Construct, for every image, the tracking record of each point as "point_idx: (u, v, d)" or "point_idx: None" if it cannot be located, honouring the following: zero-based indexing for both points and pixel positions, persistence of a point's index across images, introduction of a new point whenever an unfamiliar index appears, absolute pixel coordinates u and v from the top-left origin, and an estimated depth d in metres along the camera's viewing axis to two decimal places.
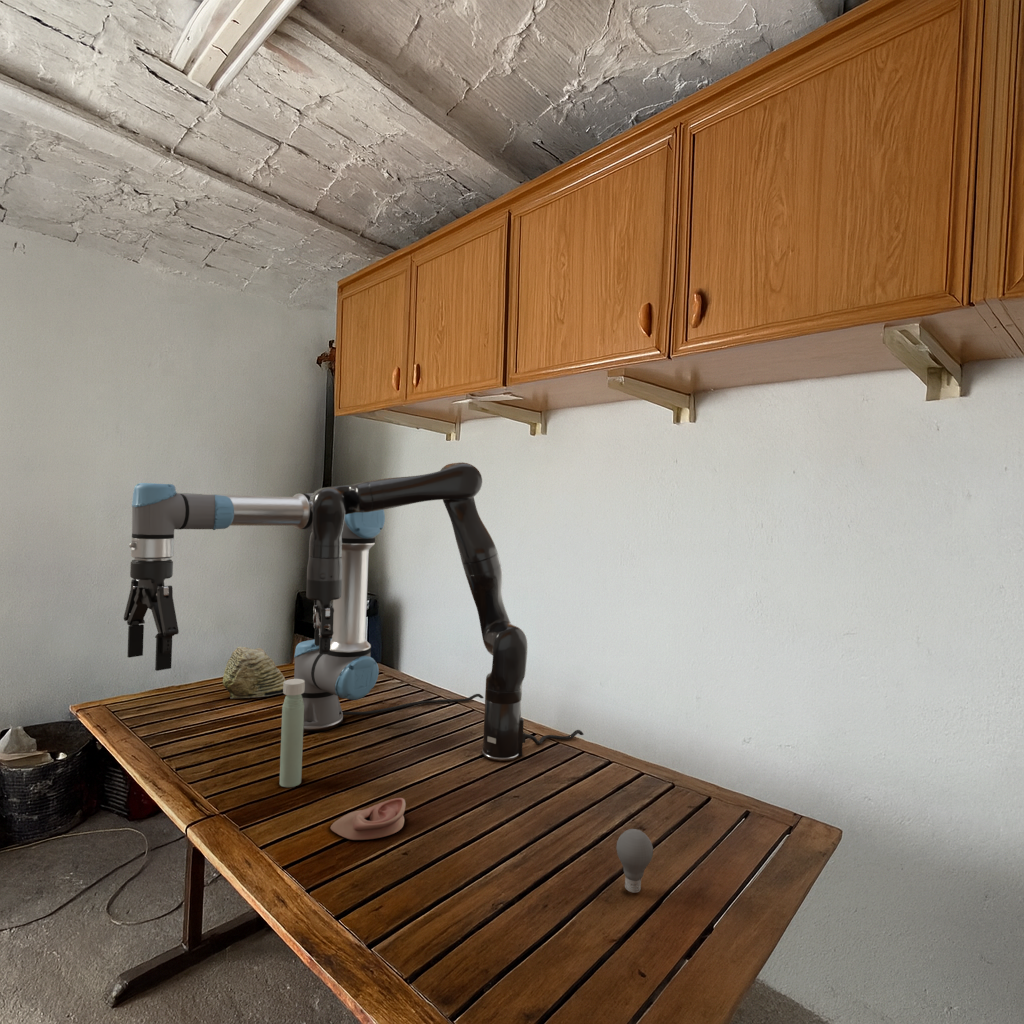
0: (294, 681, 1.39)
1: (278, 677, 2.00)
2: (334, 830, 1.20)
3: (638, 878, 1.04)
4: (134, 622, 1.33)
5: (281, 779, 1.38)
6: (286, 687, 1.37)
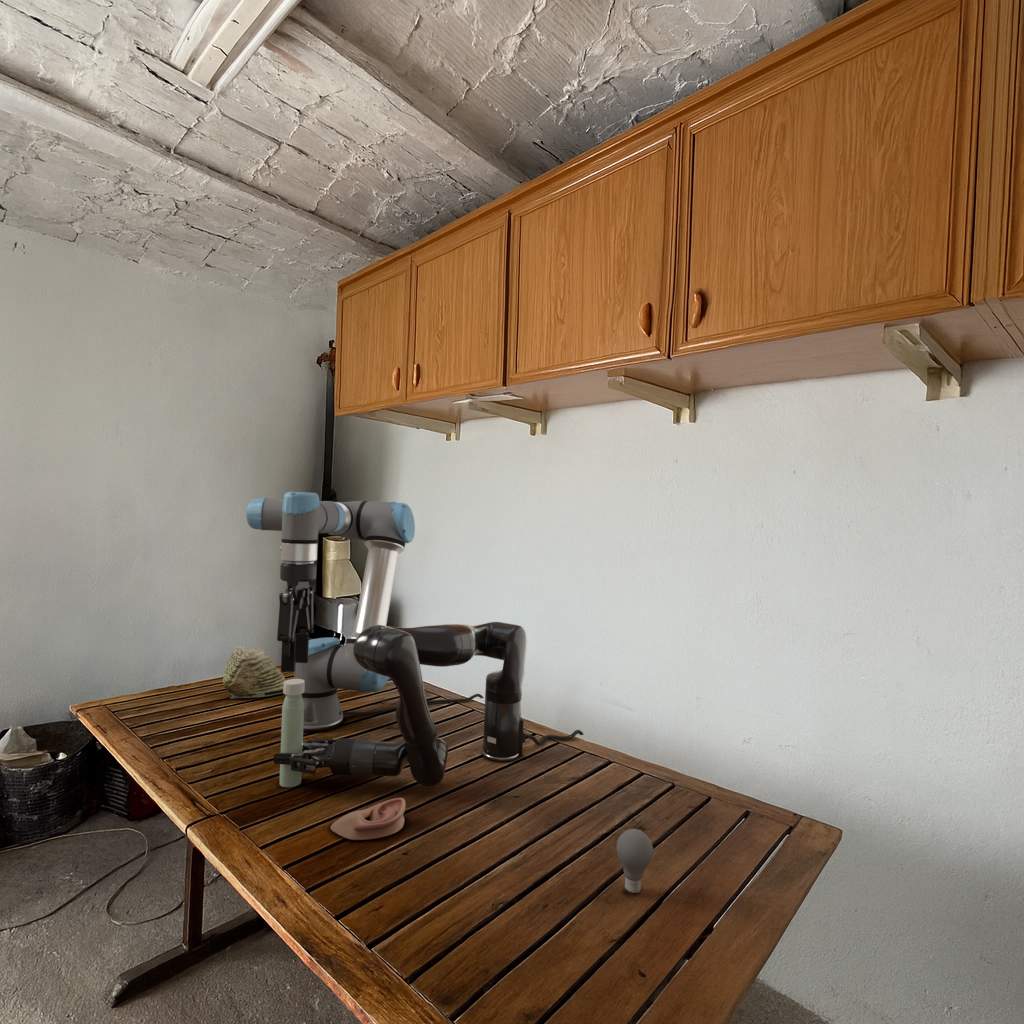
0: (294, 681, 1.39)
1: (278, 677, 2.00)
2: (334, 830, 1.20)
3: (638, 878, 1.04)
4: (302, 629, 1.43)
5: (281, 779, 1.38)
6: (286, 687, 1.37)
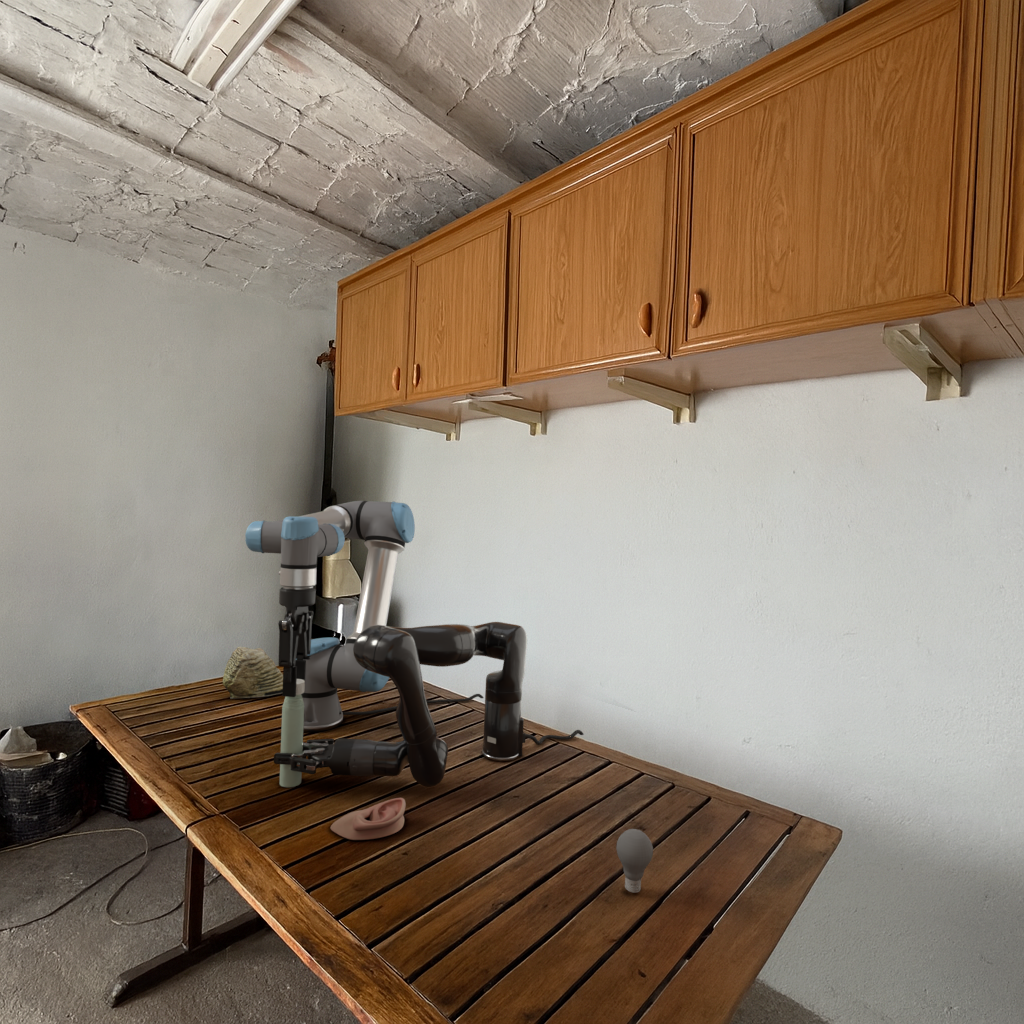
0: None
1: (278, 677, 2.00)
2: (334, 830, 1.20)
3: (638, 878, 1.04)
4: (299, 655, 1.42)
5: (281, 779, 1.38)
6: None
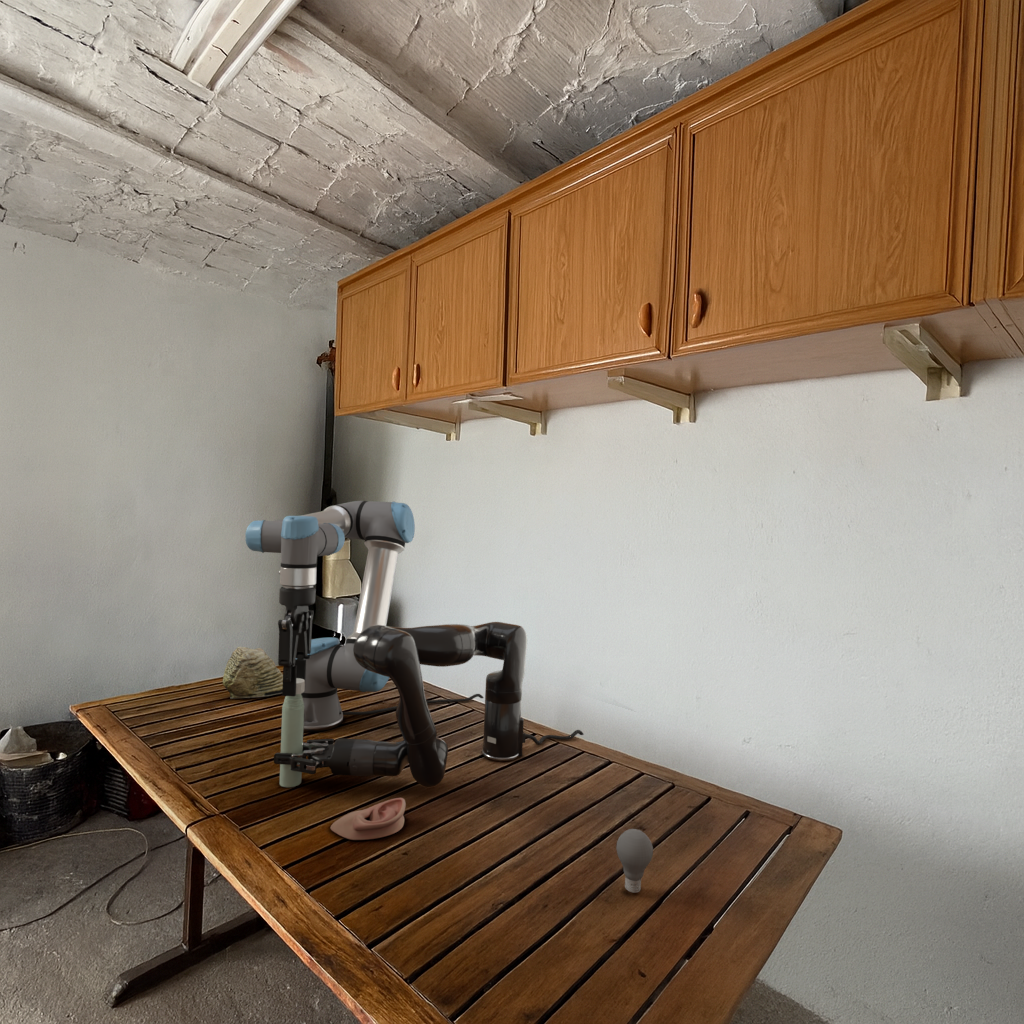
0: None
1: (278, 677, 2.00)
2: (334, 830, 1.20)
3: (638, 878, 1.04)
4: (299, 655, 1.42)
5: (281, 779, 1.38)
6: (304, 684, 1.40)
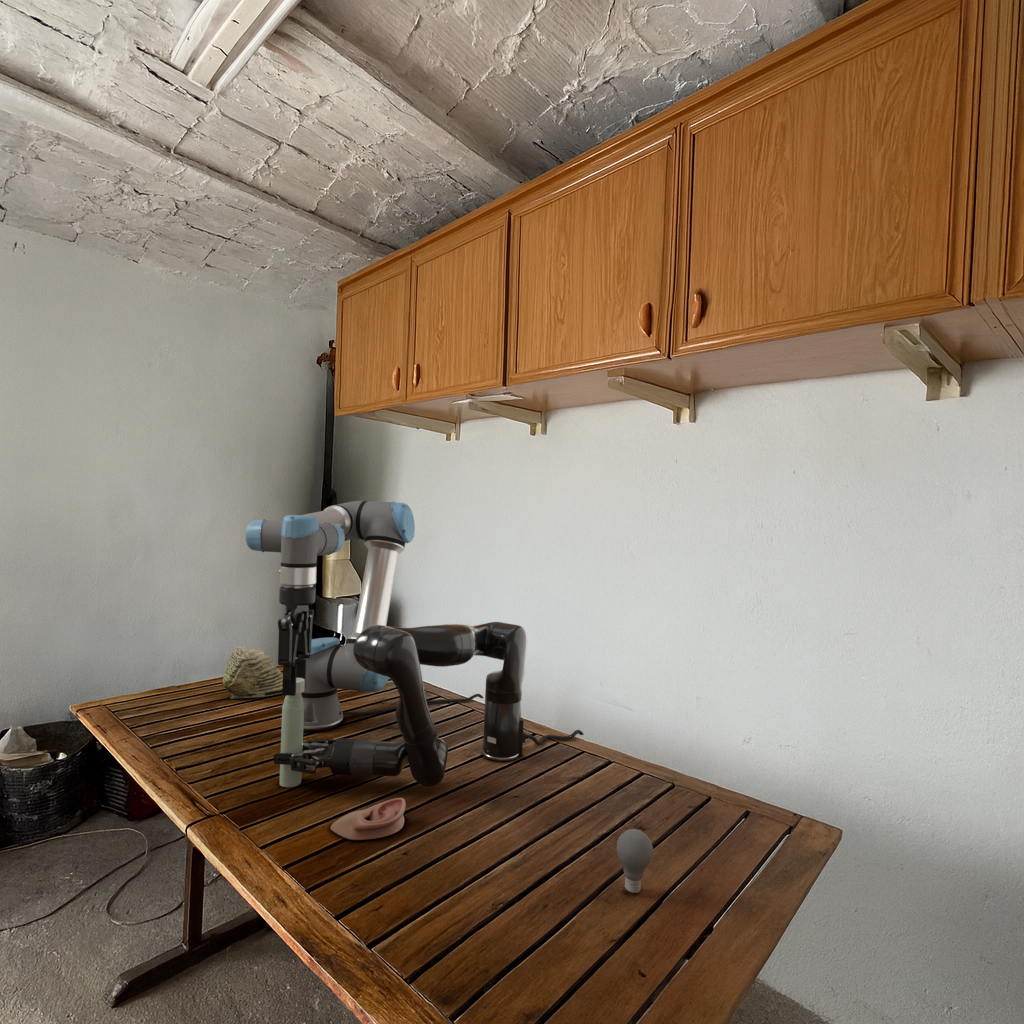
0: None
1: (278, 677, 2.00)
2: (334, 830, 1.20)
3: (638, 878, 1.04)
4: (299, 654, 1.42)
5: (281, 779, 1.38)
6: None
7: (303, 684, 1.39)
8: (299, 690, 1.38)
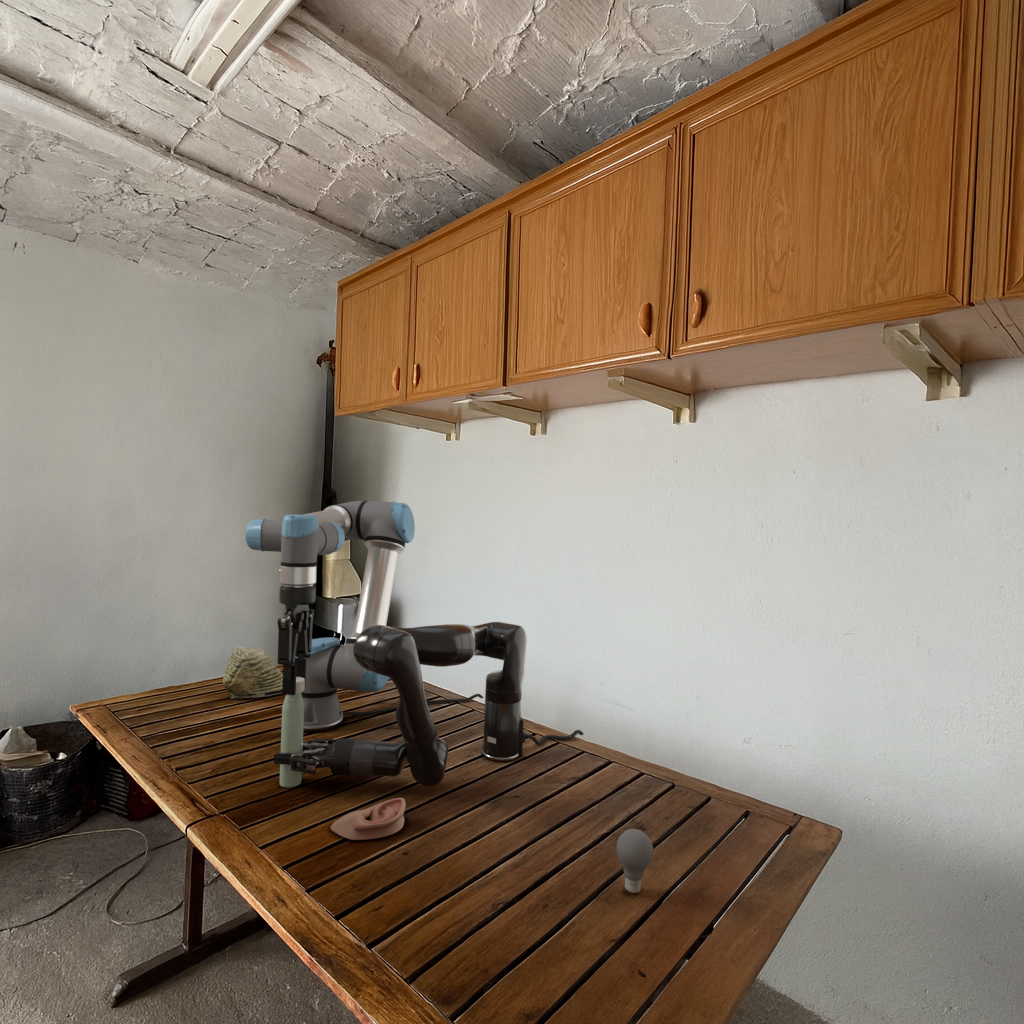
0: None
1: (278, 677, 2.00)
2: (334, 830, 1.20)
3: (638, 878, 1.04)
4: (299, 654, 1.42)
5: (281, 779, 1.38)
6: None
7: None
8: None
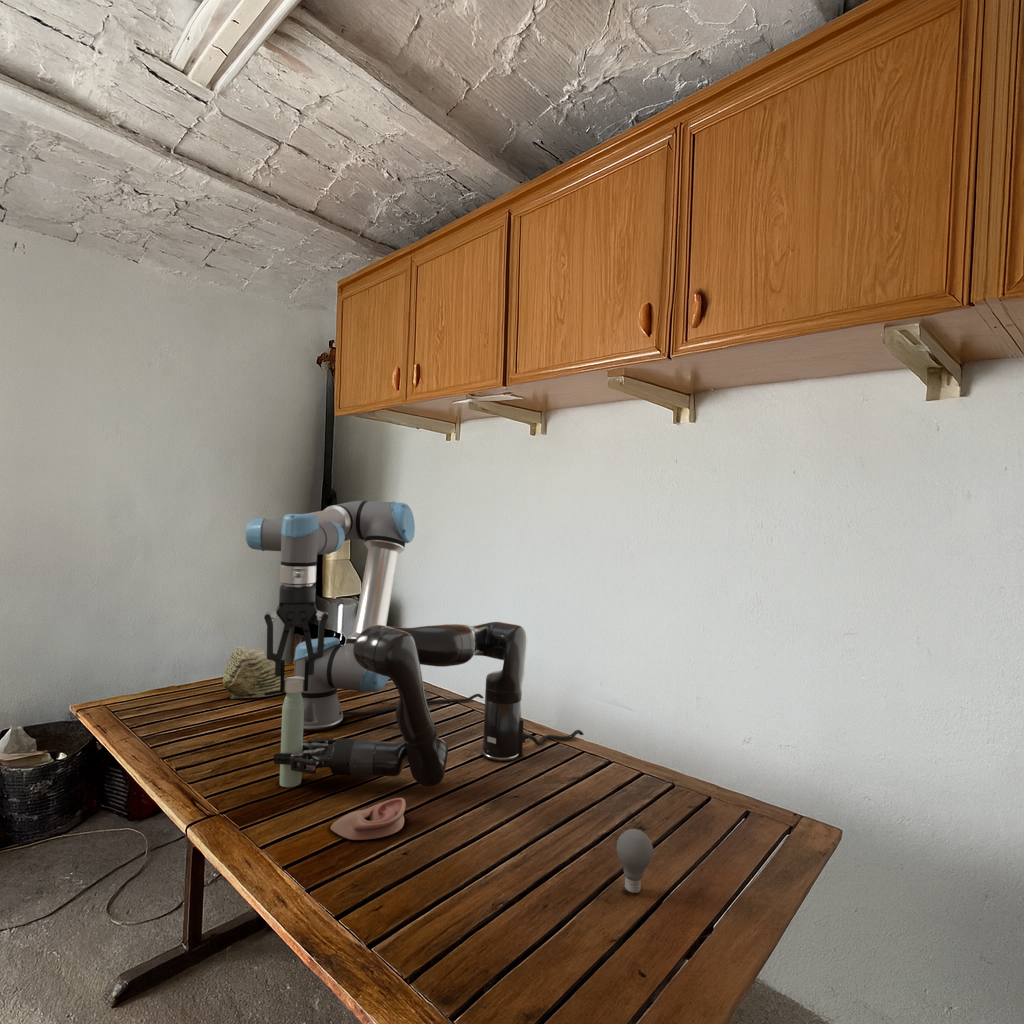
0: (294, 679, 1.39)
1: (278, 677, 2.00)
2: (334, 830, 1.20)
3: (638, 878, 1.04)
4: None
5: (281, 779, 1.38)
6: None
7: (286, 684, 1.37)
8: None
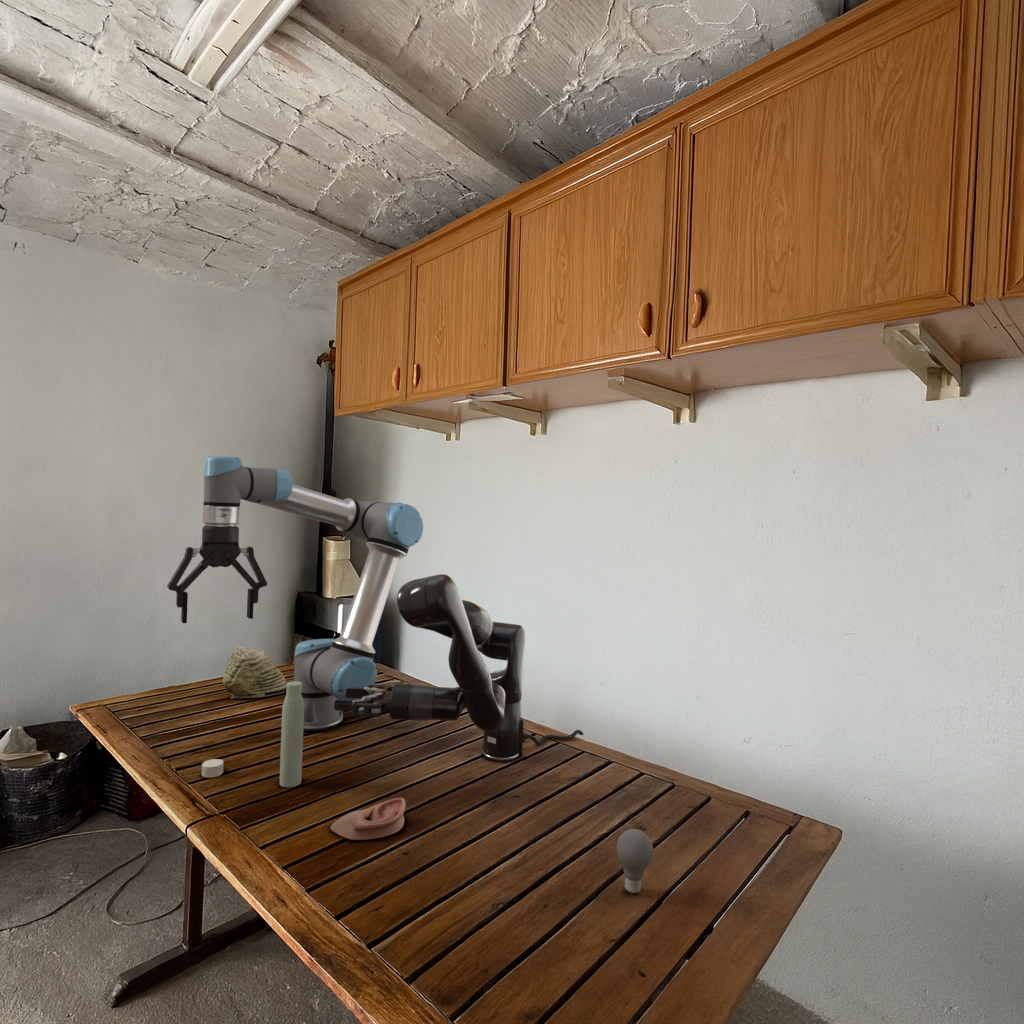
0: (212, 763, 1.42)
1: (278, 677, 2.00)
2: (334, 830, 1.20)
3: (638, 878, 1.04)
4: None
5: (281, 779, 1.38)
6: None
7: (205, 770, 1.40)
8: (202, 773, 1.41)
